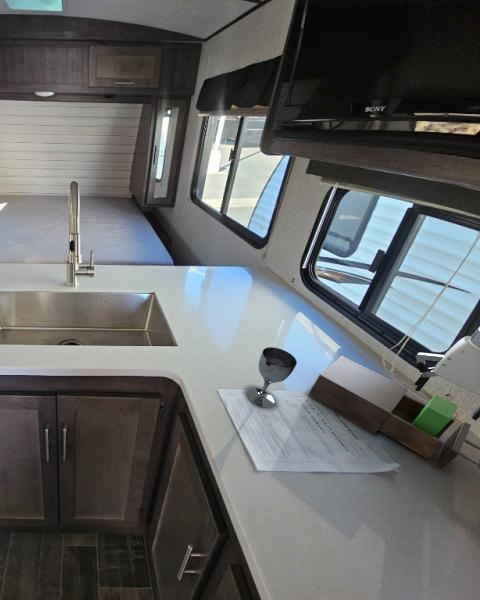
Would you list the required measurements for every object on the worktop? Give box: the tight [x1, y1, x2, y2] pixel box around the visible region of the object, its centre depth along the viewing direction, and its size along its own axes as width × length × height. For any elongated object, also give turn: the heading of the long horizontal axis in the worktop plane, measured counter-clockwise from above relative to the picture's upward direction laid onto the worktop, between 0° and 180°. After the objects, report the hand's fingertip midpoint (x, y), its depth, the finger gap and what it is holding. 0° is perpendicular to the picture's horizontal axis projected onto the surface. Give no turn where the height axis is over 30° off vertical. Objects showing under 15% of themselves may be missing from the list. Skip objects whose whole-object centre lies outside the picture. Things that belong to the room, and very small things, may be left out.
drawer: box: [377, 393, 480, 471], centre depth 78 cm, size 19×13×6 cm
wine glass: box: [246, 346, 298, 409], centre depth 87 cm, size 8×8×15 cm
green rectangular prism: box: [411, 394, 459, 437], centre depth 77 cm, size 4×7×10 cm, turn 125°
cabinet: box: [307, 355, 409, 436], centre depth 88 cm, size 16×15×8 cm
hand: (445, 402), depth 74 cm, fingers open, 9 cm apart
